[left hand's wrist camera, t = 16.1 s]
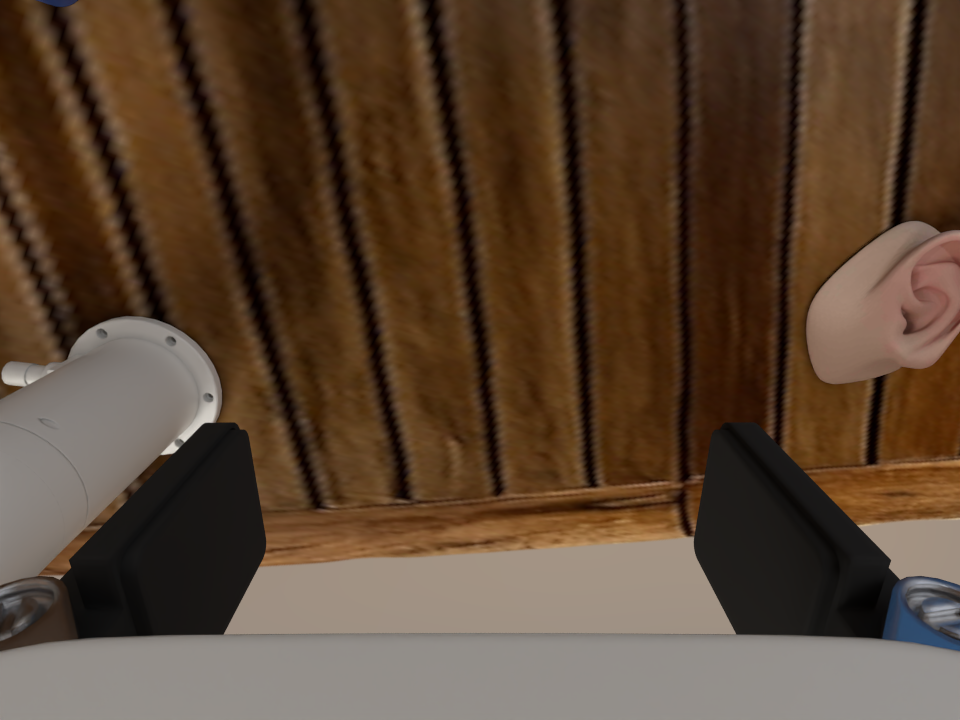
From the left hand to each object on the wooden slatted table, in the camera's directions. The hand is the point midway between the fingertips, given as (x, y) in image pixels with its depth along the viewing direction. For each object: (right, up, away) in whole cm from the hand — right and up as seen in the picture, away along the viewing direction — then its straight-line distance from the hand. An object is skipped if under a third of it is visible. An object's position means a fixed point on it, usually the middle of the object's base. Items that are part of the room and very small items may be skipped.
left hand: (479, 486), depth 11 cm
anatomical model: (+33, +7, +35) cm, 48 cm away
